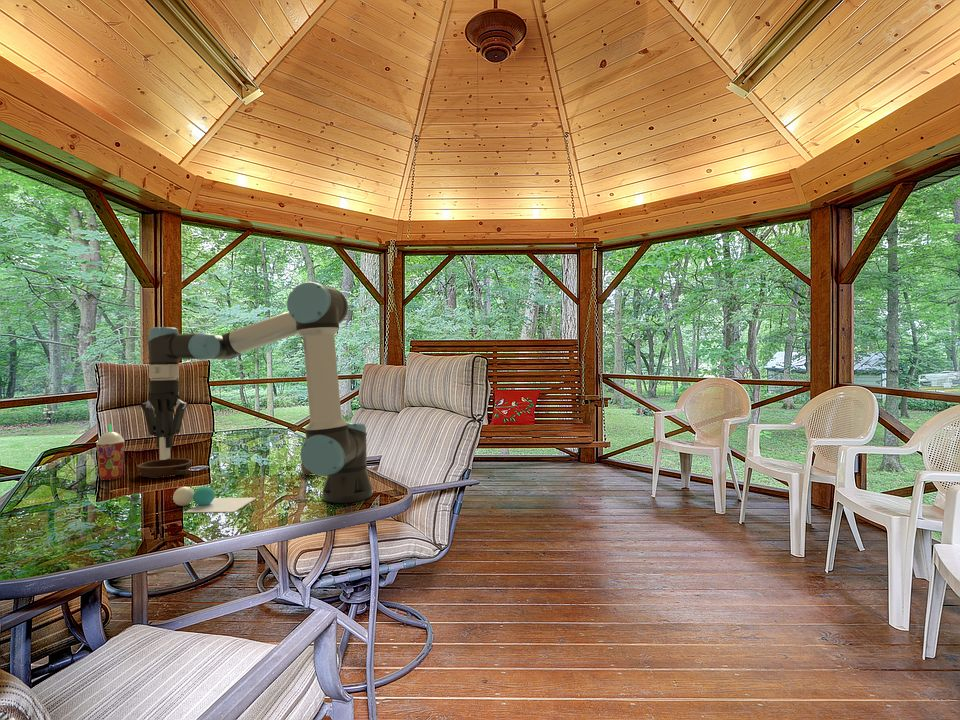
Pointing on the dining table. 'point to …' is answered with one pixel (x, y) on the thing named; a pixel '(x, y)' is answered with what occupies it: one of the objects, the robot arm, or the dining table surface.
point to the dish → (164, 467)
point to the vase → (305, 469)
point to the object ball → (204, 496)
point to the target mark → (222, 505)
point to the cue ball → (183, 496)
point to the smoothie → (110, 455)
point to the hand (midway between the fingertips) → (165, 458)
